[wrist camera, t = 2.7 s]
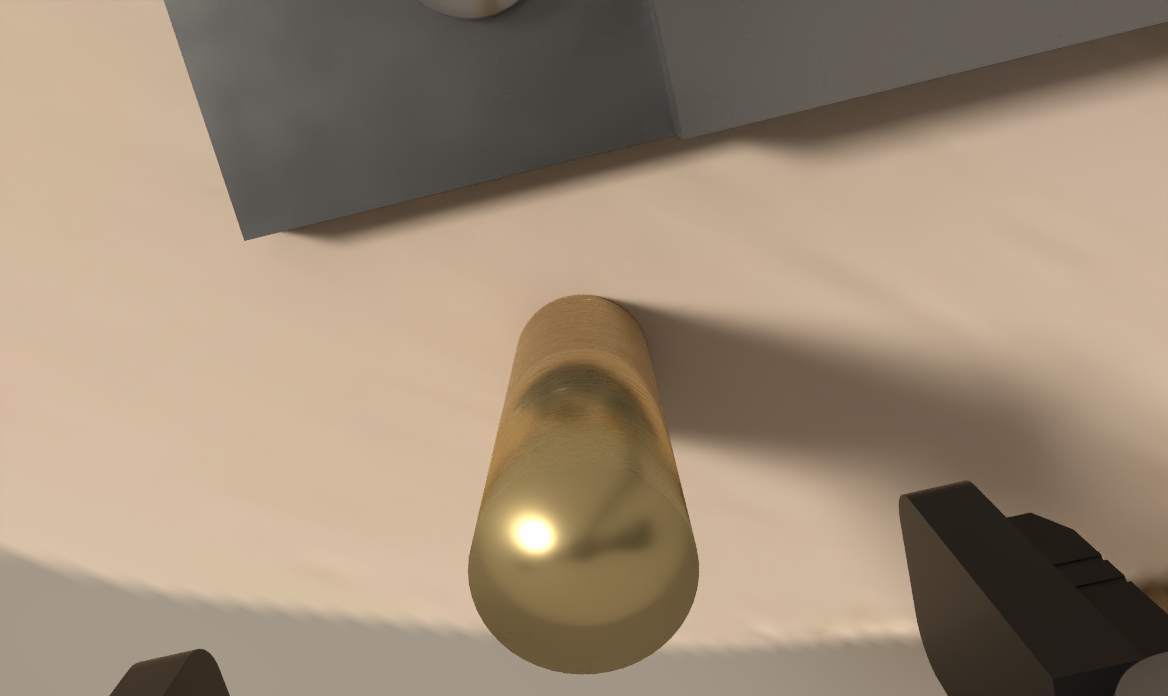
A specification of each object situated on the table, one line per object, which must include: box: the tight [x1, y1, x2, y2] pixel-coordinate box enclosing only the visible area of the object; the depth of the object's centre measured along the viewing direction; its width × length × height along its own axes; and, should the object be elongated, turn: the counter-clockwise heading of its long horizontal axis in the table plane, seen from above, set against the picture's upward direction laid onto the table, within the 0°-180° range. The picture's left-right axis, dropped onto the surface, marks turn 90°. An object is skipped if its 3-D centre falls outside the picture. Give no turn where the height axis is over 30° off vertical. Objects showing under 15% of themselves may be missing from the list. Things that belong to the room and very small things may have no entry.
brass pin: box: [468, 295, 699, 674], centre depth 18 cm, size 3×3×10 cm
